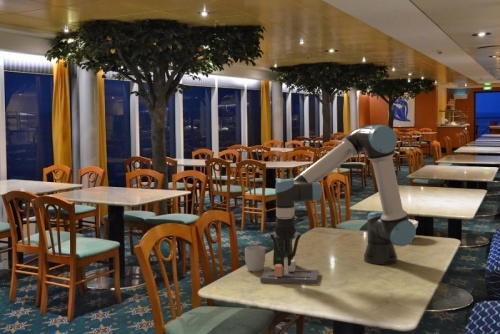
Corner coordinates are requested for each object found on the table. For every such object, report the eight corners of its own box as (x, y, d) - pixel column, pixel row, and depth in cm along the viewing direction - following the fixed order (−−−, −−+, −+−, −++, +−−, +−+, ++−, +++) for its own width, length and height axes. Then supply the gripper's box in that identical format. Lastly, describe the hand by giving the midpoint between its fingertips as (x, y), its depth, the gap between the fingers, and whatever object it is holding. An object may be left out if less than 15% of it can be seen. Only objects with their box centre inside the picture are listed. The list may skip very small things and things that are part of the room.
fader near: (283, 274, 230) (282, 263, 230) (281, 276, 227) (281, 266, 226) (276, 273, 231) (275, 263, 231) (274, 276, 227) (274, 266, 227)
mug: (259, 273, 241) (259, 251, 240) (241, 271, 245) (241, 249, 244) (272, 266, 252) (271, 244, 251) (255, 264, 256) (254, 243, 255)
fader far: (295, 269, 237) (295, 259, 237) (294, 271, 234) (294, 261, 233) (288, 268, 238) (288, 259, 238) (287, 271, 234) (286, 261, 234)
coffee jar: (285, 269, 247) (285, 228, 245) (270, 266, 251) (269, 226, 250) (296, 263, 255) (295, 224, 253) (281, 261, 259) (280, 222, 258)
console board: (318, 274, 237) (318, 269, 237) (316, 284, 223) (316, 279, 222) (266, 272, 242) (265, 267, 241) (260, 283, 227) (260, 277, 227)
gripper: (302, 215, 228) (303, 271, 231) (271, 215, 231) (272, 270, 233) (300, 219, 221) (301, 276, 223) (268, 218, 224) (269, 275, 226)
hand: (286, 273), depth 228 cm, fingers closed
